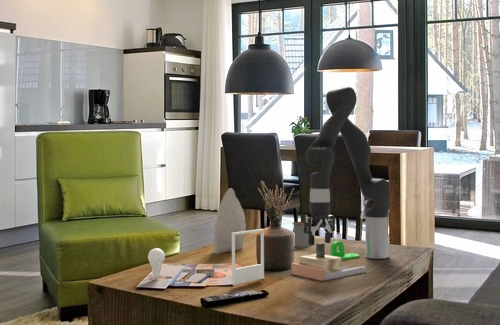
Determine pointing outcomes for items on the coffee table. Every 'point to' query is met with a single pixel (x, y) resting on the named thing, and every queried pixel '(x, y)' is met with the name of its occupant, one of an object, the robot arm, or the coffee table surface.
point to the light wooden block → (322, 260)
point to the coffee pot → (300, 235)
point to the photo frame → (249, 271)
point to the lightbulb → (156, 260)
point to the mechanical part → (341, 251)
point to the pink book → (320, 273)
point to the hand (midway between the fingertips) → (319, 244)
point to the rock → (229, 224)
